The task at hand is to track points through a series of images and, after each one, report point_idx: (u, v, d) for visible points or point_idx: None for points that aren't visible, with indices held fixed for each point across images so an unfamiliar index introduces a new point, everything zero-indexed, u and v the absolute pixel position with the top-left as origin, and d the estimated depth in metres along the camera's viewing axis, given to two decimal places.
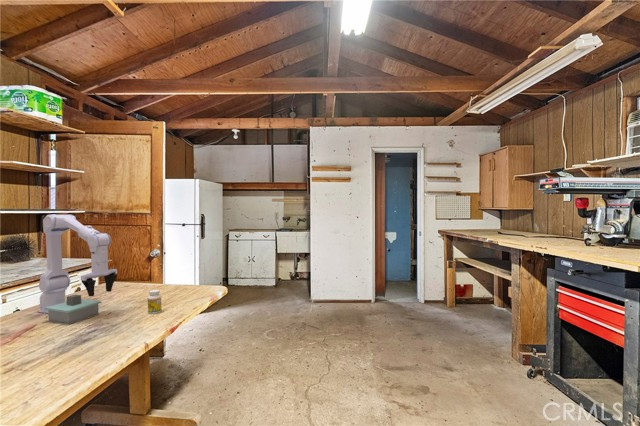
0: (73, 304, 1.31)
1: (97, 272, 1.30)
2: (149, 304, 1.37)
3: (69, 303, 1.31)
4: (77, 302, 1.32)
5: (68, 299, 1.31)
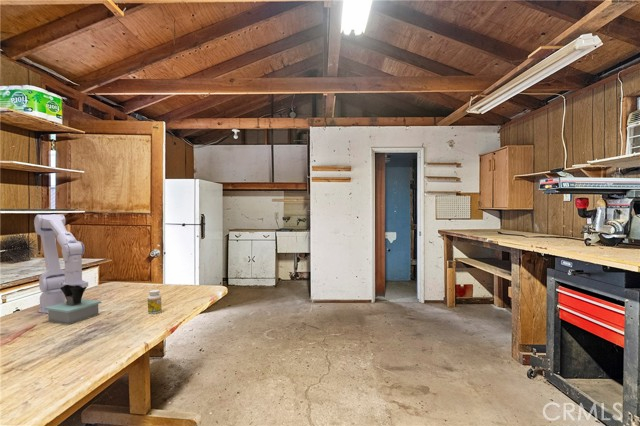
0: (73, 304, 1.31)
1: None
2: (149, 304, 1.37)
3: (69, 303, 1.31)
4: None
5: (68, 299, 1.31)
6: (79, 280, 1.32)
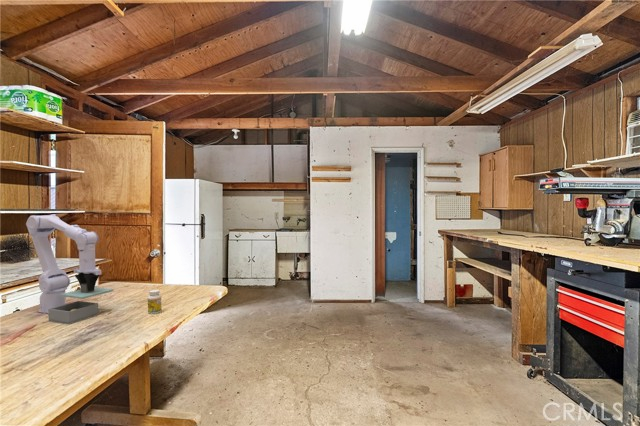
0: (87, 291, 1.36)
1: None
2: (149, 304, 1.37)
3: (83, 290, 1.36)
4: None
5: (82, 286, 1.36)
6: (93, 268, 1.37)
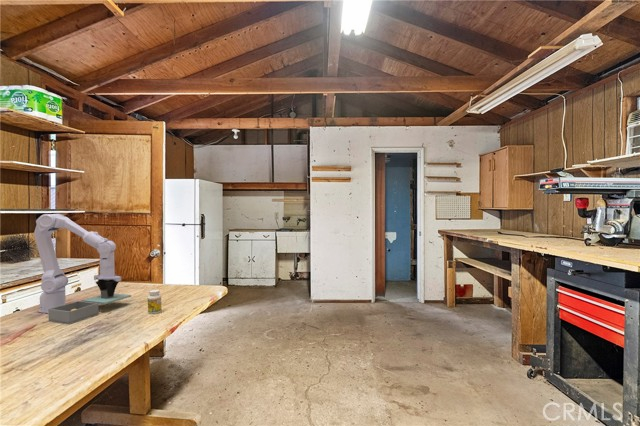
0: (107, 297, 1.45)
1: None
2: (149, 304, 1.37)
3: (103, 296, 1.45)
4: None
5: (102, 292, 1.45)
6: (112, 275, 1.46)
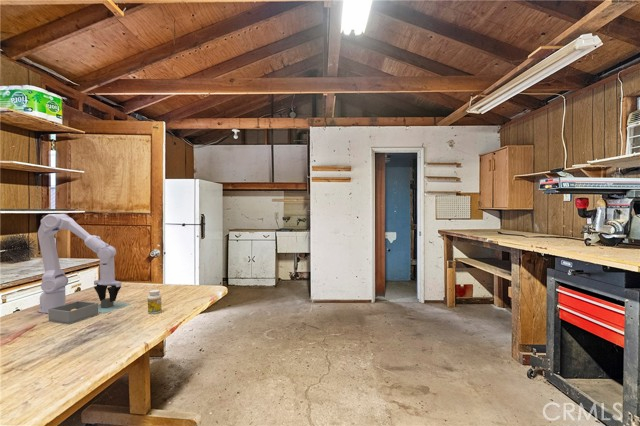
0: (107, 307, 1.45)
1: None
2: (149, 304, 1.37)
3: (103, 306, 1.45)
4: (110, 305, 1.46)
5: (102, 302, 1.45)
6: (112, 280, 1.46)
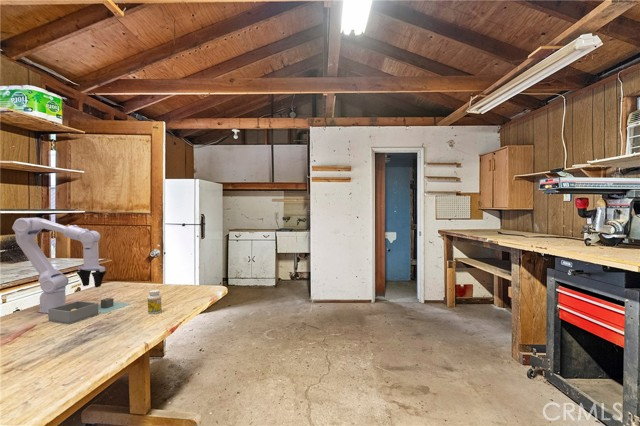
0: (107, 307, 1.45)
1: None
2: (149, 304, 1.37)
3: (103, 306, 1.45)
4: (110, 305, 1.46)
5: (102, 302, 1.45)
6: (96, 265, 1.44)
